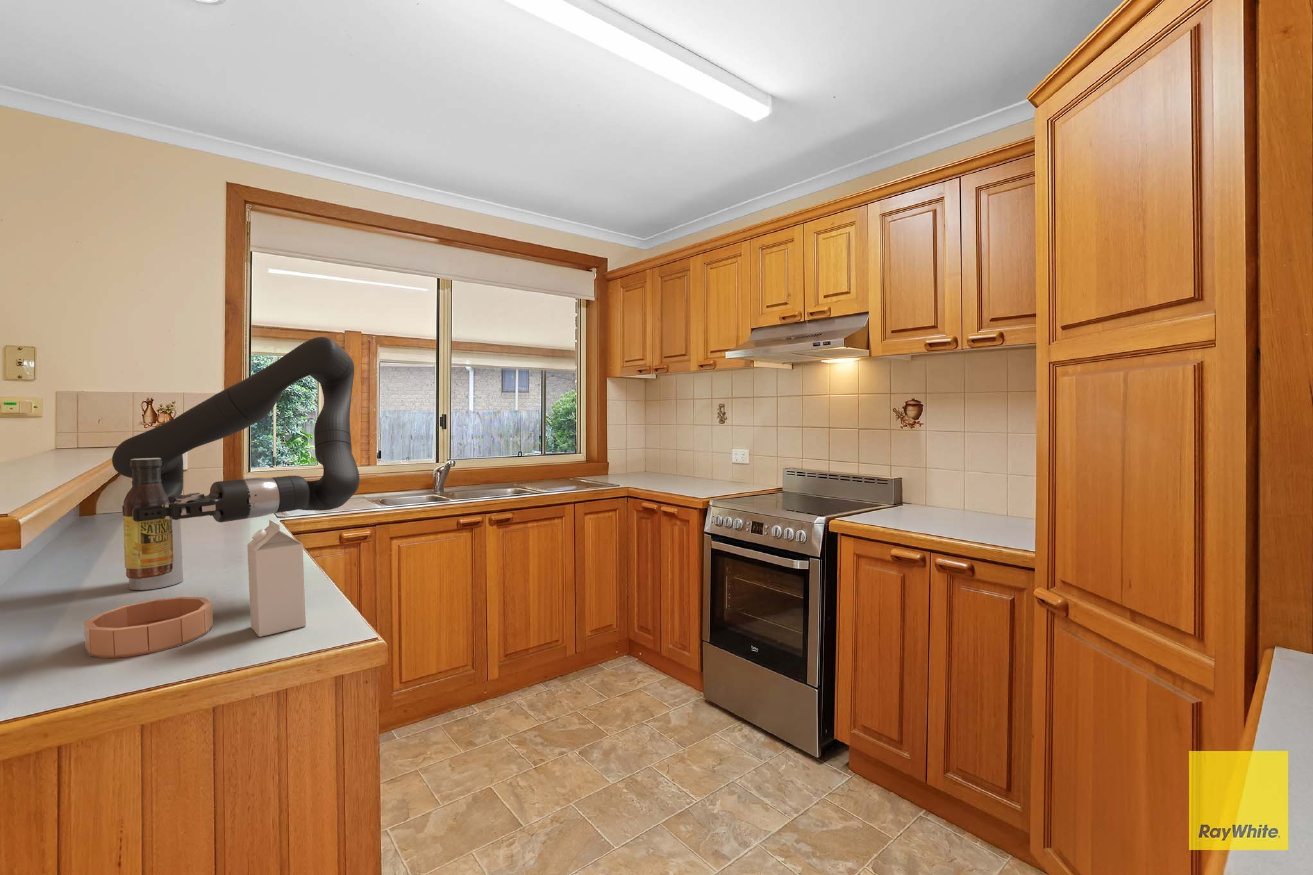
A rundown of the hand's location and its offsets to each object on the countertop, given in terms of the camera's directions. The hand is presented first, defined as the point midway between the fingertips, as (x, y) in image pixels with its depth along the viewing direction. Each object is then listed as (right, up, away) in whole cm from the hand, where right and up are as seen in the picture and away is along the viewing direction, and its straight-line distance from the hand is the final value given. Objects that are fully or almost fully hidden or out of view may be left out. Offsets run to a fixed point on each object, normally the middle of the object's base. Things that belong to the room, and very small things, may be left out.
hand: (128, 513), depth 97 cm
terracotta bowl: (+1, -22, +3) cm, 22 cm away
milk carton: (+20, -22, +8) cm, 30 cm away
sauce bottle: (+2, -11, +3) cm, 11 cm away
